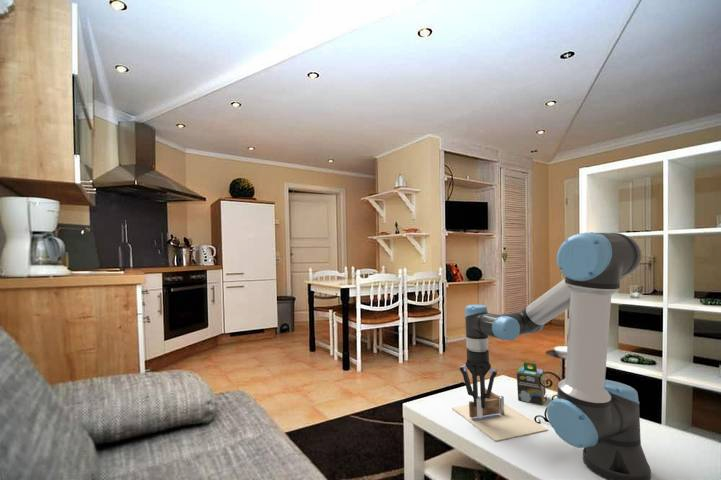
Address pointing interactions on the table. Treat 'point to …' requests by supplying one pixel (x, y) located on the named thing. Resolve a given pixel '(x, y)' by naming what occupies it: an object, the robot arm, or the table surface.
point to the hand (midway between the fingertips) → (480, 416)
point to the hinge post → (501, 405)
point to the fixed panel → (492, 396)
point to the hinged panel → (489, 409)
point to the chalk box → (530, 384)
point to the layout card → (502, 423)
